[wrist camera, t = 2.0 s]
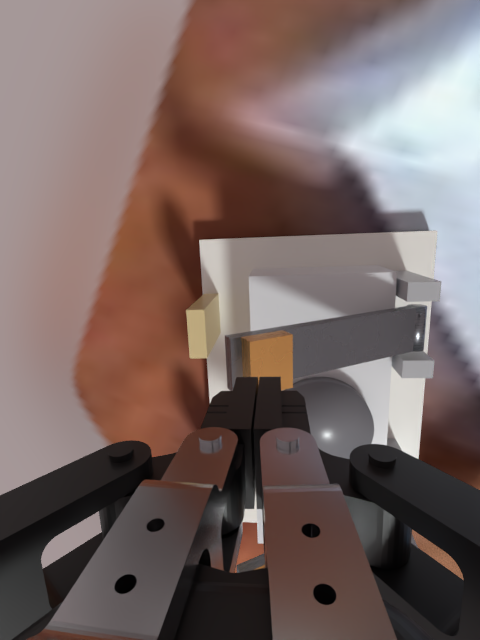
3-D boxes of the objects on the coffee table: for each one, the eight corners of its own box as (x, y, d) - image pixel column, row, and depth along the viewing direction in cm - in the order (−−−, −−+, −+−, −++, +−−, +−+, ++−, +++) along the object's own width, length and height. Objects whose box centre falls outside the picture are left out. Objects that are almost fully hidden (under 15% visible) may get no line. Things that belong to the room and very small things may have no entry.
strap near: (223, 334, 16) (238, 343, 15) (415, 303, 20) (441, 308, 19) (225, 386, 17) (240, 400, 15) (412, 344, 21) (437, 352, 20)
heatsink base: (202, 239, 26) (179, 242, 19) (429, 230, 24) (482, 231, 18) (219, 509, 31) (205, 580, 25) (407, 516, 29) (442, 593, 23)
